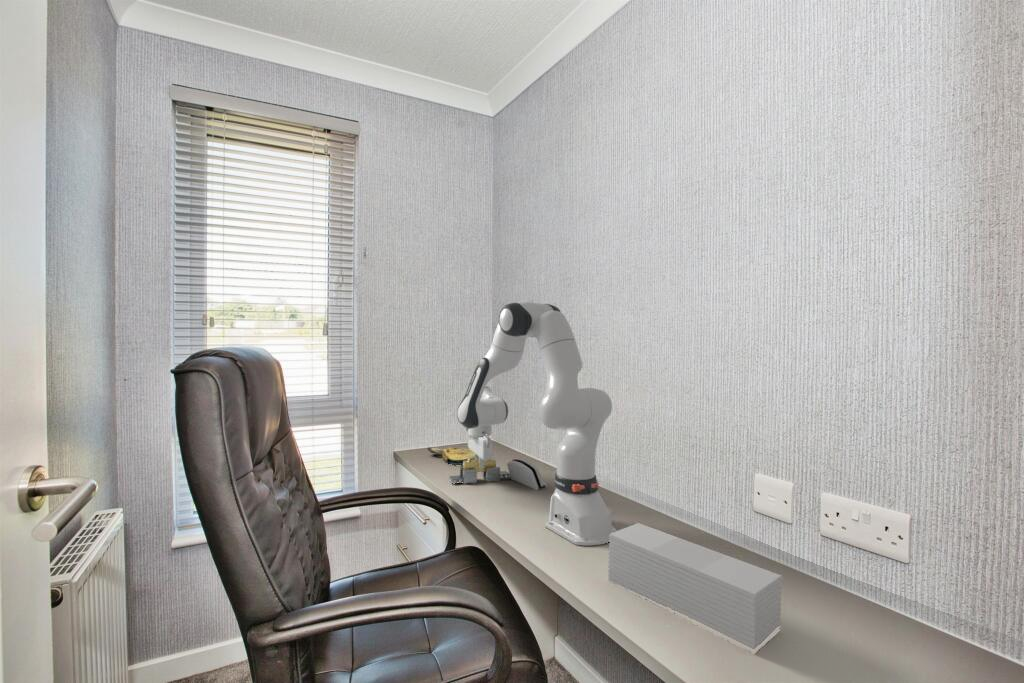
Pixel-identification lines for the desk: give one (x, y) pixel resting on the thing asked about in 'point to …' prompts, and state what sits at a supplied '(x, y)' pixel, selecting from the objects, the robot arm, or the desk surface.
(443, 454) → the pulley block
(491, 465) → the brass block with peg
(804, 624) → the desk surface
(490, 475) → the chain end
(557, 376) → the robot arm
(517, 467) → the grey half-round block
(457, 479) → the chain end
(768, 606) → the stack of papers
